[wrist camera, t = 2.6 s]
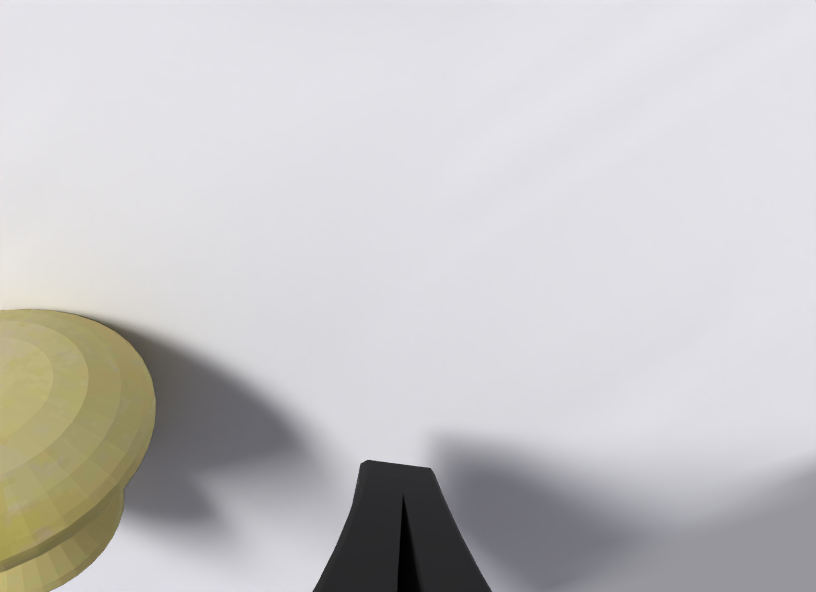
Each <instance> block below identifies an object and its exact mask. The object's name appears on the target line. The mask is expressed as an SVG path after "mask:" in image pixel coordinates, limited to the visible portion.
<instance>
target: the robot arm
mask: <svg viewBox="0 0 816 592" xmlns="http://www.w3.org/2000/svg"><path fill="white" fill-rule="evenodd" d="M313 592H492V591H491V589H490V588H489V586H488V584H487V582H486V581H485V579H484V577H483V575H482V574H481V572H480V570H479V568H478V566H477V564H476V563H475V561H474V559H473V557H472V555H471V553H470V551H469V549H468V547H467V545H466V543H465V541H464V540H463V538H462V536H461V534H460V531H459V529H458V527H457V525H456V523H455V521H454V519H453V517H452V514H451V512H450V510H449V508H448V506H447V503H446V501H445V499H444V496H443V494H442V492H441V489H440V487H439V484H438V482H437V479H436V476H435V474H434V472H433V471H432V470H431V468H426V467H418V466H410V465H403V464H395V463H387V462H380V461H372V460H367V461H365V462H363V463H361V464H360V469H359V474H358V479H357V484H356V489H355V494H354V499H353V504H352V507H351V510H350V513H349V516H348V518H347V520H346V523H345V525H344V528H343V530H342V533H341V535H340V537H339V540H338V542H337V545H336V547H335V549H334V551H333V553H332V555H331V557H330V559H329V561H328V563H327V565H326V567H325V569H324V571H323V573H322V575H321V577H320V579H319V581H318V583H317V585H316V587H315V588H314V590H313Z"/></svg>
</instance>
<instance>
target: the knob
mask: <svg viewBox="0 0 816 592" xmlns="http://www.w3.org/2000/svg"><path fill="white" fill-rule="evenodd" d="M155 412H156V398H155V393H154V388H153V382H152V378H151V376H150V373H149V371H148V369H147V367H146V365H145V363H144V361H143V359H142V357H141V356H140V355H139V354H138V353H137V351H136V350H135V349H134V348H133V346H132V345H131V344H130V343H129V342H128V341H126V340H125V339H124V338H123V337H121V336H120V335H119V334H118V333H116V332H115V331H113V330H111V329H110V328H108V327H106V326H104V325H102V324H100V323H98V322H96V321H93V320H90V319H87V318H84V317H81V316H78V315H74V314H68V313H63V312H58V311H50V310H33V309H20V310H0V592H49V591H51V590H53V589H55V588H57V587H60V586H62V585H63V584H65V583H67V582H68V581H70V580H71V579H73V578H74V577H76V576H78V575H79V574H80V573H81V572H82V571H84V570H85V569H86V568H87V567H88V566H90V565H91V564H92V563H93V562H94V561H95V560H96V559H97V557H98V556H99V555H100V554H101V553H102V552H103V551H104V549H105V548H106V546H107V545H108V543H109V542H110V541H111V539H112V538H113V536H114V534H115V531H116V529H117V527H118V525H119V523H120V520H121V516H122V512H123V508H124V488H125V487H126V485H127V484H128V483H129V481H130V480H131V478H132V477H133V476H134V474H135V473H136V471H137V470H138V468H139V466H140V464H141V462H142V460H143V458H144V456H145V454H146V451H147V449H148V447H149V444H150V440H151V437H152V433H153V429H154V425H155Z"/></svg>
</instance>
